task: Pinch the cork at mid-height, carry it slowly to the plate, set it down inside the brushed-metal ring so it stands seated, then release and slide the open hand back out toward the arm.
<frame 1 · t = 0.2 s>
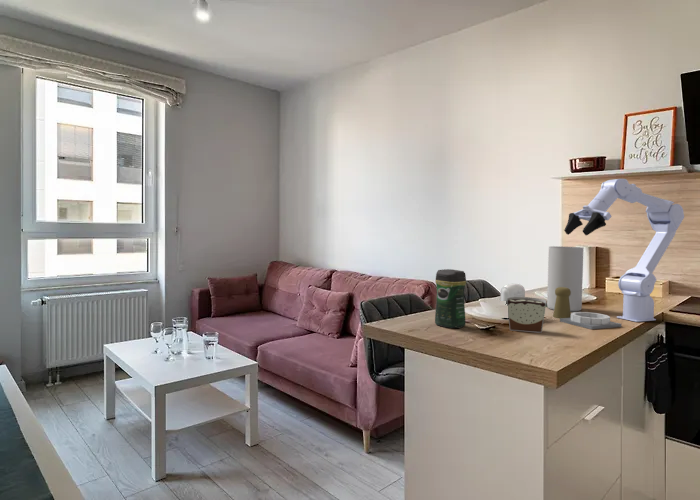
hand: (575, 232, 148), 31 cm above the table, tool tilted 45°, fingers open, 7 cm apart
cylinder vase: (563, 309, 177), on the table
socket holder: (589, 324, 149), on the table
coffee jar: (449, 326, 145), on the table
food container: (525, 330, 140), on the table
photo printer: (512, 318, 159), on the table
cork: (562, 317, 160), on the table
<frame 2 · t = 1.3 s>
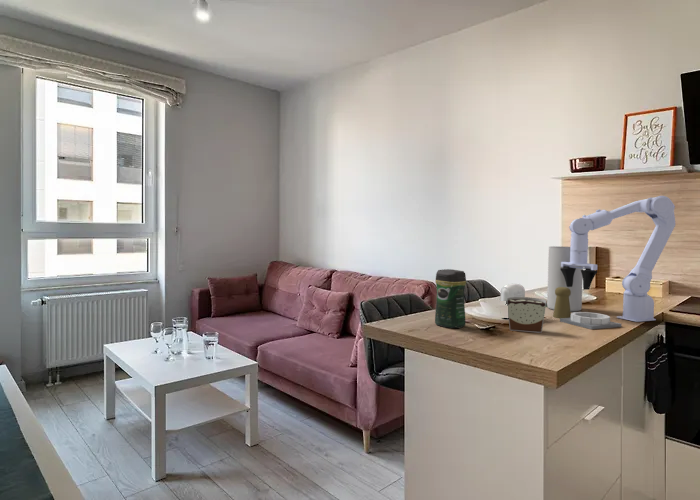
hand: (577, 288, 162), 10 cm above the table, tool pointing down, fingers open, 7 cm apart
nothing on the table moved.
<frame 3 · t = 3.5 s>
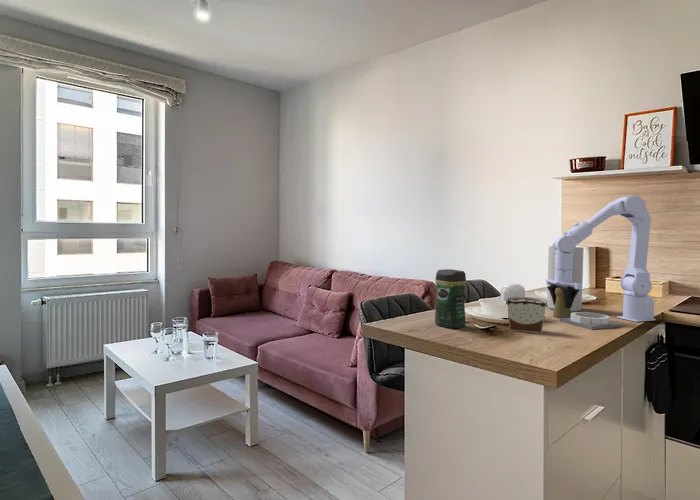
hand: (562, 306, 160), 4 cm above the table, tool pointing down, fingers closed on cork, 5 cm apart
cork: (562, 317, 160), on the table, touching gripper
everything else where it was.
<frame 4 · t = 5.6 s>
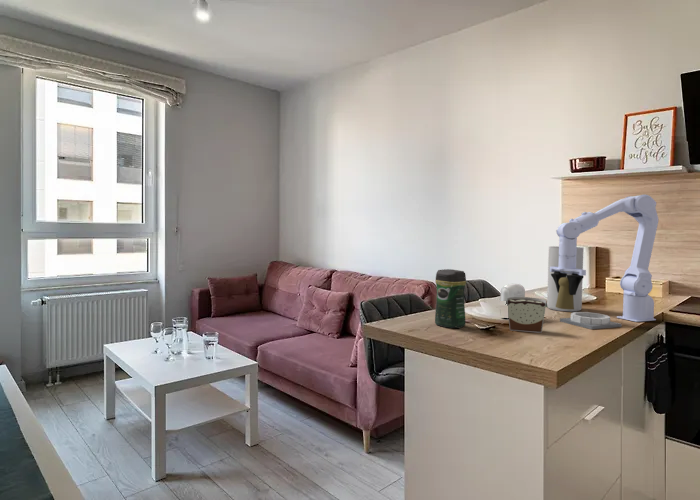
hand: (566, 293, 159), 9 cm above the table, tool pointing down, fingers closed on cork, 5 cm apart
cork: (564, 308, 159), point 4 cm above the table, touching gripper
everything else where it was.
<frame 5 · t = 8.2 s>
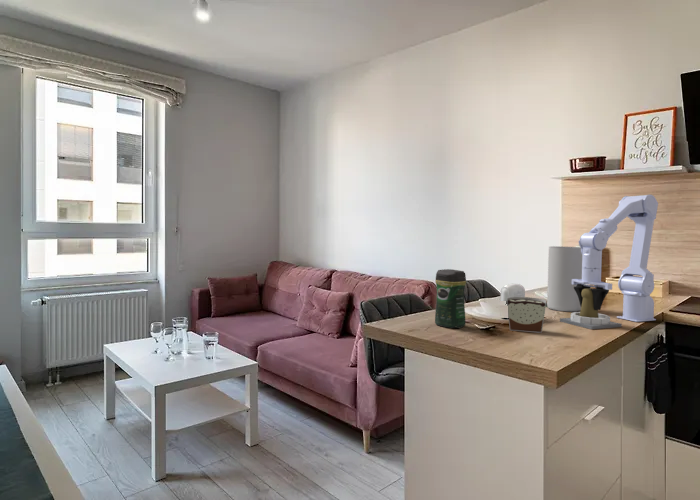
hand: (590, 308, 149), 5 cm above the table, tool pointing down, fingers closed on cork, 5 cm apart
cork: (588, 321, 149), point 1 cm above the table, touching gripper, socket holder
everything else where it was.
when the fingers open (5 cm above the table, at t = 8.5 s): cork stays where it is, resting on socket holder.
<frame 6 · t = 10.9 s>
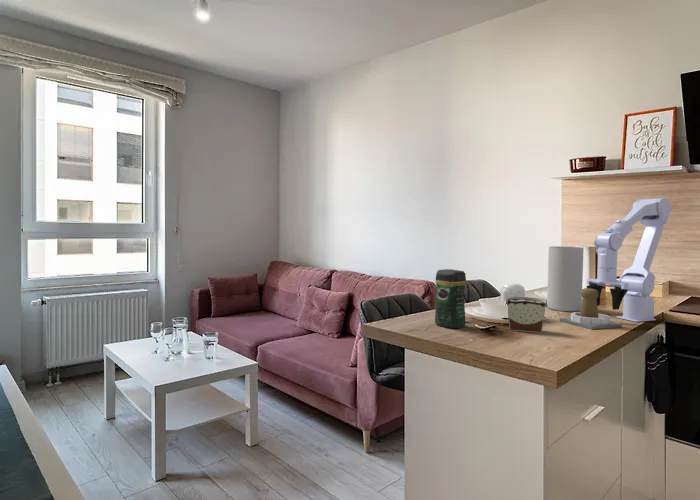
hand: (605, 307, 151), 5 cm above the table, tool pointing down, fingers open, 7 cm apart
cork: (588, 321, 149), point 1 cm above the table, touching socket holder
everything else where it was.
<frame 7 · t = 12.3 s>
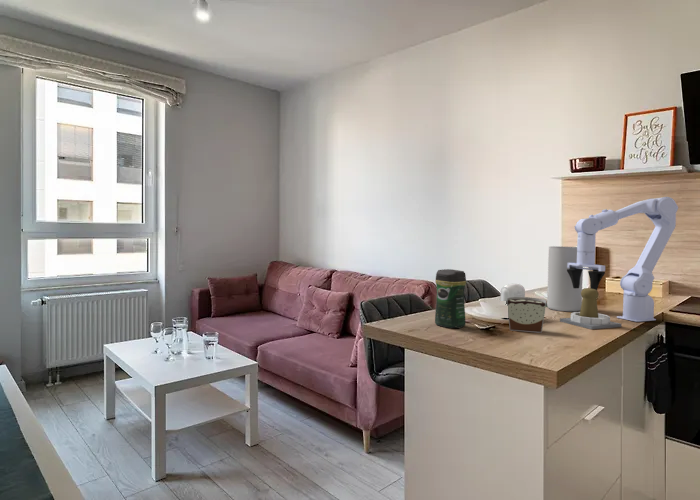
hand: (584, 289, 158), 10 cm above the table, tool pointing down, fingers open, 7 cm apart
nothing on the table moved.
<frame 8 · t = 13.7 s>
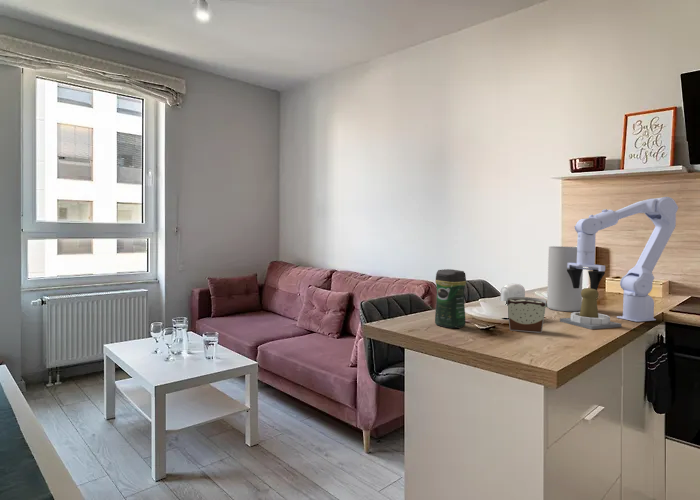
hand: (584, 289, 158), 10 cm above the table, tool pointing down, fingers open, 7 cm apart
nothing on the table moved.
at the end: cork 0.3 cm off-centre on the socket holder, point 0.8 cm above the socket holder's base; cork tilted 0°; the gripper is holding nothing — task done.
